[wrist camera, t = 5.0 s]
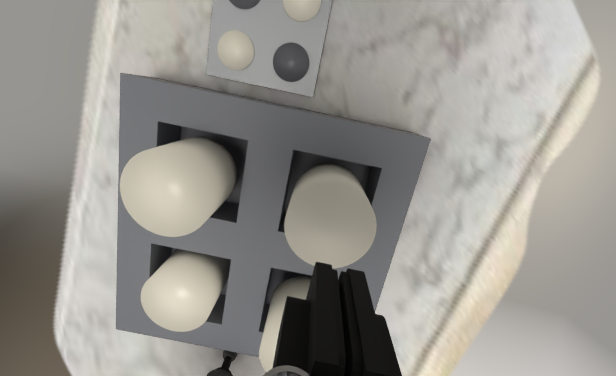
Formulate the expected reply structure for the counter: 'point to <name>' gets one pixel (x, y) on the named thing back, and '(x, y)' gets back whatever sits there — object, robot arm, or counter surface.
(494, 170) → the counter surface
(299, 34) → the tile
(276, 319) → the button far right
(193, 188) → the button near left
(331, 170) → the button near right
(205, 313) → the button far left
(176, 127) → the board
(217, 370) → the microphone
